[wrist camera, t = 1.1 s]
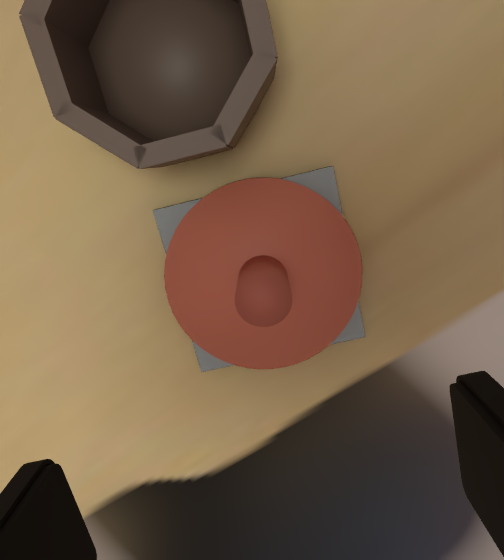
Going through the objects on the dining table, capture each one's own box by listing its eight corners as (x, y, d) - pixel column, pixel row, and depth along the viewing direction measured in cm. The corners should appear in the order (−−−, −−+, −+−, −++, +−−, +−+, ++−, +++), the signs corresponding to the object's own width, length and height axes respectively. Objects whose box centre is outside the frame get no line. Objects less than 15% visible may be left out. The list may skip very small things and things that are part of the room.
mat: (331, 165, 26) (333, 166, 25) (363, 333, 29) (365, 336, 28) (155, 209, 27) (152, 210, 26) (202, 367, 30) (201, 372, 29)
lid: (340, 155, 25) (357, 154, 21) (374, 342, 28) (396, 378, 24) (142, 204, 26) (117, 214, 22) (196, 379, 29) (184, 421, 25)
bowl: (242, -67, 23) (236, -143, 17) (285, 135, 26) (292, 129, 20) (56, -12, 24) (-10, -67, 18) (117, 179, 26) (77, 184, 21)
